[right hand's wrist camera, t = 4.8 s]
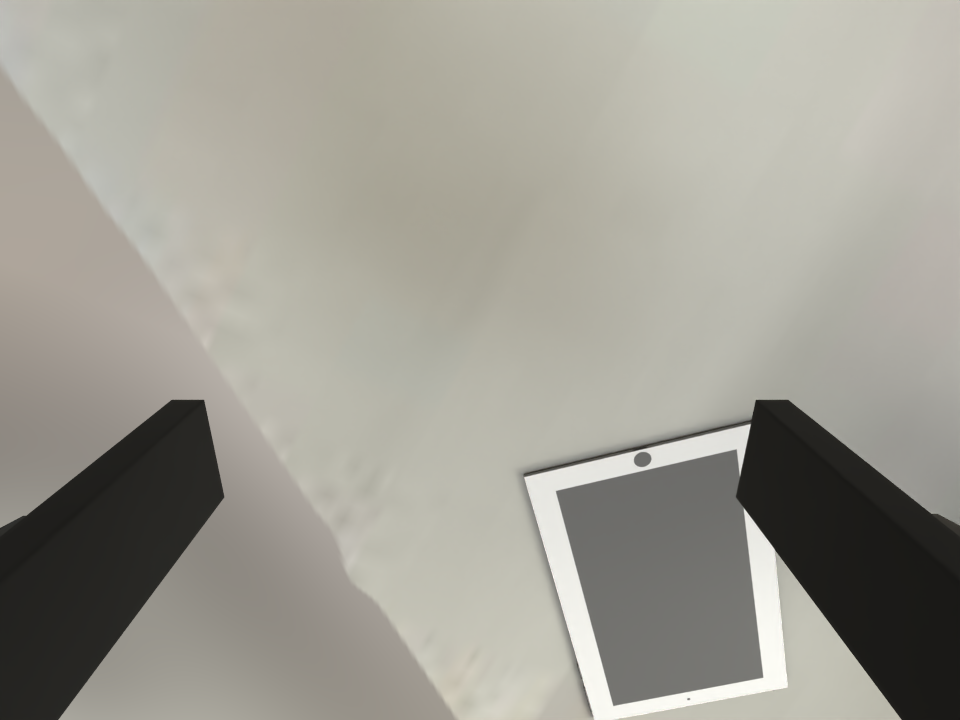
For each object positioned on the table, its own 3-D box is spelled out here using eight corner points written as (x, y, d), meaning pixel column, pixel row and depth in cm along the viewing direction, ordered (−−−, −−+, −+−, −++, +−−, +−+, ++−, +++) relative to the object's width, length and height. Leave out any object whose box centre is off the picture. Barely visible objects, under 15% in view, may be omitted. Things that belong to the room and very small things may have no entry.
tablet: (785, 684, 55) (788, 687, 55) (593, 719, 57) (594, 723, 56) (760, 418, 44) (762, 421, 43) (521, 474, 46) (522, 477, 45)
